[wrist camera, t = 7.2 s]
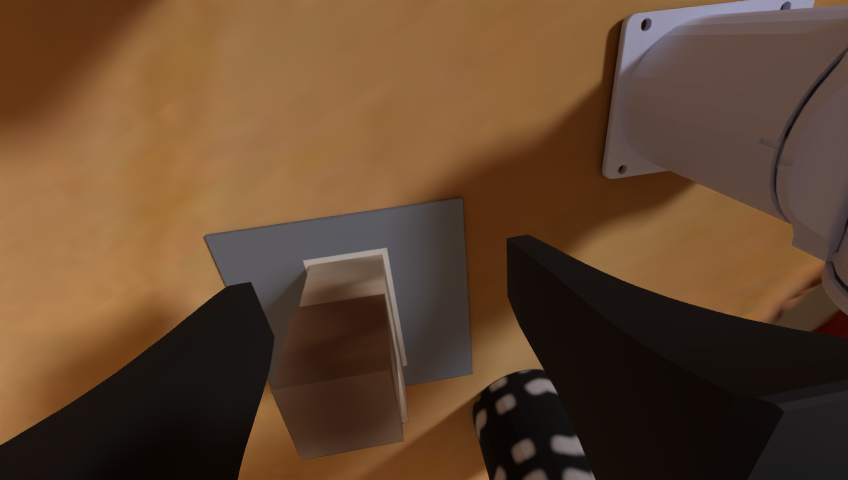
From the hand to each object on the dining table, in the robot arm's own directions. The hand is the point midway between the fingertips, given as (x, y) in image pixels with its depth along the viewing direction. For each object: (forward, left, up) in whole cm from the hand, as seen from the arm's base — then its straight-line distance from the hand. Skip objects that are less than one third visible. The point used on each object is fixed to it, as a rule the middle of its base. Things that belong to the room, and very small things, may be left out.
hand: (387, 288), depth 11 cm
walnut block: (+3, +6, -6) cm, 9 cm away
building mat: (+3, +9, -10) cm, 14 cm away
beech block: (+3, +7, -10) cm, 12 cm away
